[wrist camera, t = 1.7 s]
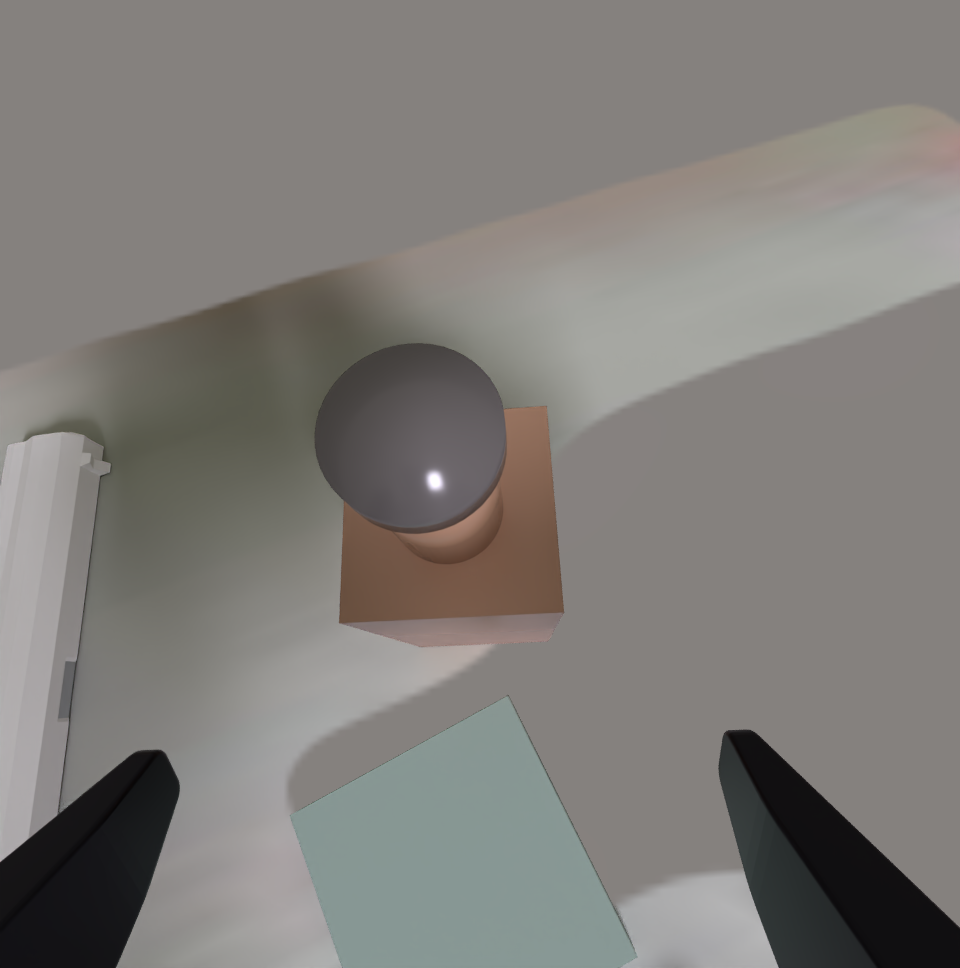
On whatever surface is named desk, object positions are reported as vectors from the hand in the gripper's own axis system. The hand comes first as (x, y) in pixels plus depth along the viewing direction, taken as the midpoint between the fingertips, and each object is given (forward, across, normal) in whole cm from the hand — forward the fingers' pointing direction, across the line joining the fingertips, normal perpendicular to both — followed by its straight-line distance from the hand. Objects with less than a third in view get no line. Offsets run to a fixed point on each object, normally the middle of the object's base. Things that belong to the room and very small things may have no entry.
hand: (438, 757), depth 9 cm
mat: (+5, +1, +11) cm, 12 cm away
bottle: (+11, 0, +5) cm, 12 cm away
